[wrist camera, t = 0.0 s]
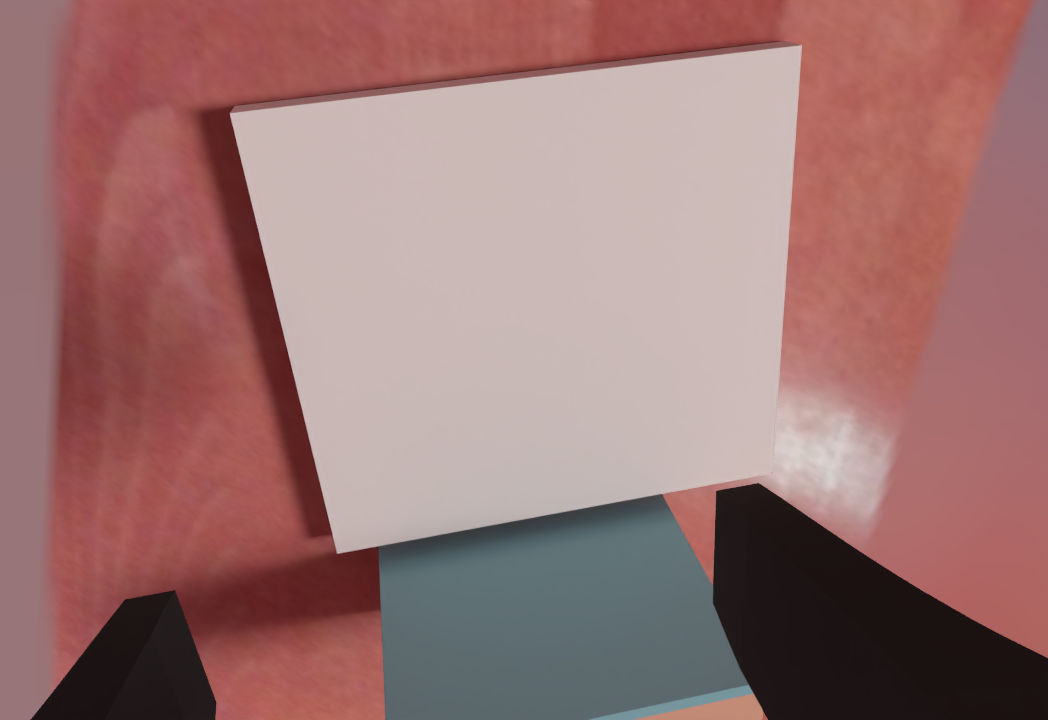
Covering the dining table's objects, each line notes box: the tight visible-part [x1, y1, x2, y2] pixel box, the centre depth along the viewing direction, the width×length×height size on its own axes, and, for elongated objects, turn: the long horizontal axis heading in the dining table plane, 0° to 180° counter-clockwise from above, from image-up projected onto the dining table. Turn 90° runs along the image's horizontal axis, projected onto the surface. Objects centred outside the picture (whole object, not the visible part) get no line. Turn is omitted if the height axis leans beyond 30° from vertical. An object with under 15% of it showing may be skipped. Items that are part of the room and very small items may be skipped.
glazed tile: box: [378, 494, 763, 720], centre depth 21 cm, size 2×8×7 cm, turn 95°
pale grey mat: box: [230, 41, 802, 554], centre depth 20 cm, size 11×12×1 cm
